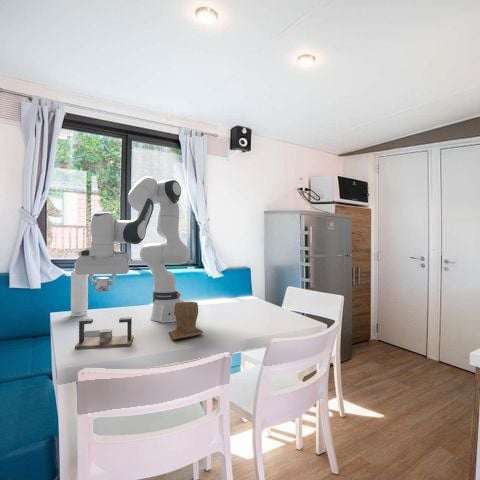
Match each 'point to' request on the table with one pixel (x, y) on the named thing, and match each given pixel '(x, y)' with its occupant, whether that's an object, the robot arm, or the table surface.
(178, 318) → the brown upright based slab
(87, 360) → the table surface
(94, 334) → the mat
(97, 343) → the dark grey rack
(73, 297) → the bottle
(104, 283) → the grey crossbar piece
